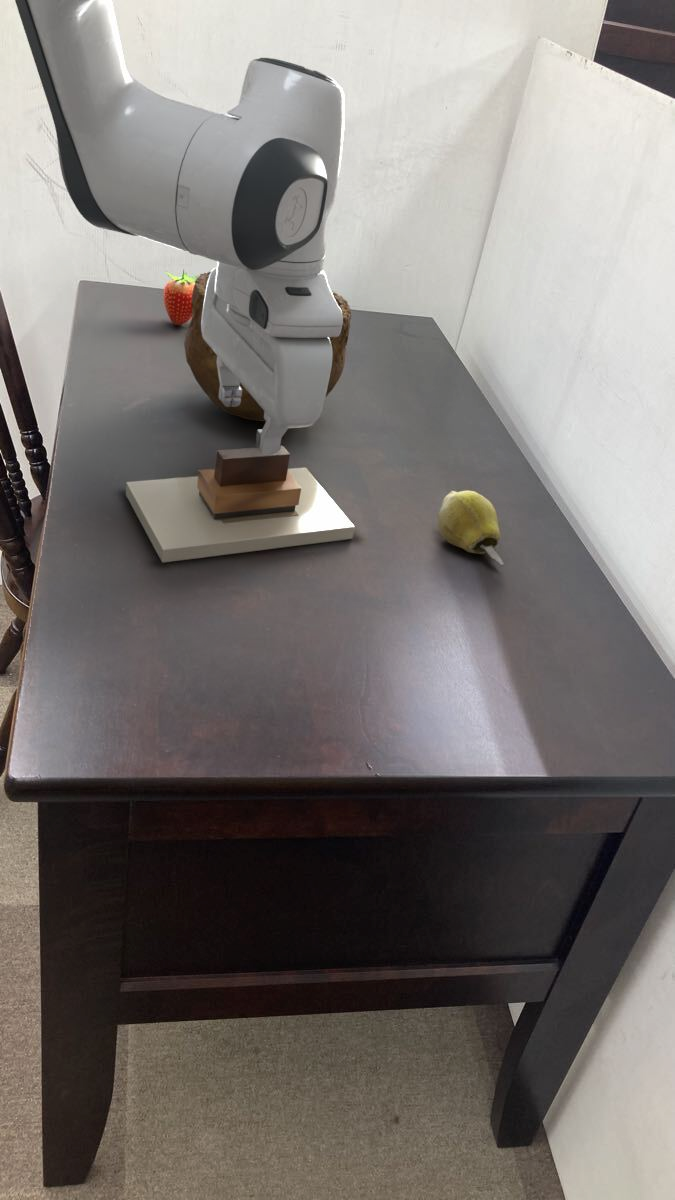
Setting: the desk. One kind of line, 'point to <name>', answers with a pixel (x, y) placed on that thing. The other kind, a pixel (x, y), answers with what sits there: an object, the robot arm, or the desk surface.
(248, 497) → the brush
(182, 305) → the fruit
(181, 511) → the tile
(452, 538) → the fruit
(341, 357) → the bowl
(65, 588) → the desk surface
